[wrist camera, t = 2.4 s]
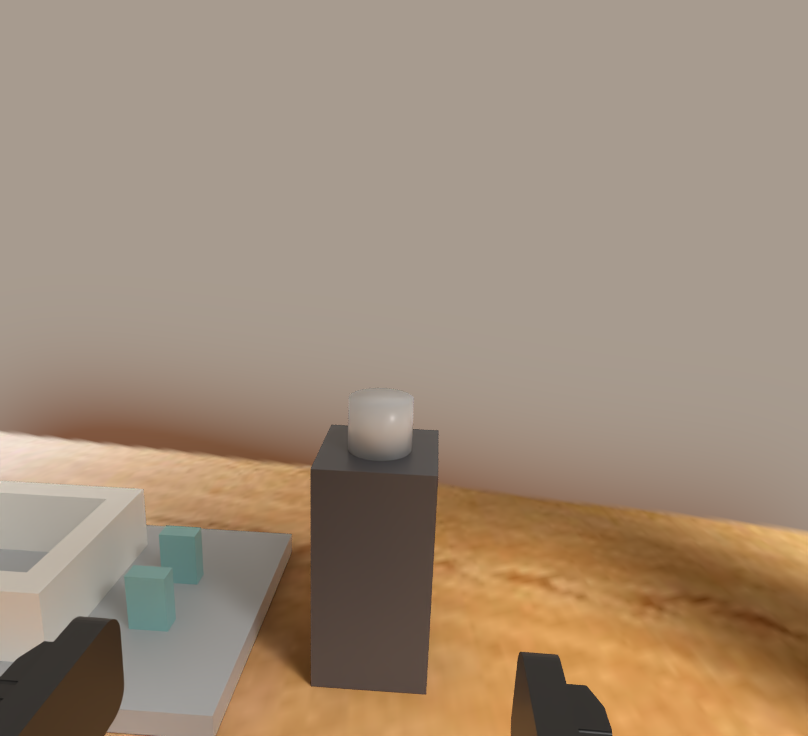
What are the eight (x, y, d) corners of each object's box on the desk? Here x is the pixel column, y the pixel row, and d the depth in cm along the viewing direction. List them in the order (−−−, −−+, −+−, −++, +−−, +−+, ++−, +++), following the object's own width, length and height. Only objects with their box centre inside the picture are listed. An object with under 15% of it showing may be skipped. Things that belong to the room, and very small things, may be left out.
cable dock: (291, 551, 33) (291, 481, 32) (213, 740, 22) (208, 640, 21) (-6, 532, 34) (-16, 463, 33) (-233, 705, 23) (-261, 608, 22)
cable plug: (428, 619, 29) (440, 383, 26) (425, 694, 24) (441, 421, 21) (329, 613, 29) (331, 377, 26) (311, 686, 24) (310, 414, 22)
